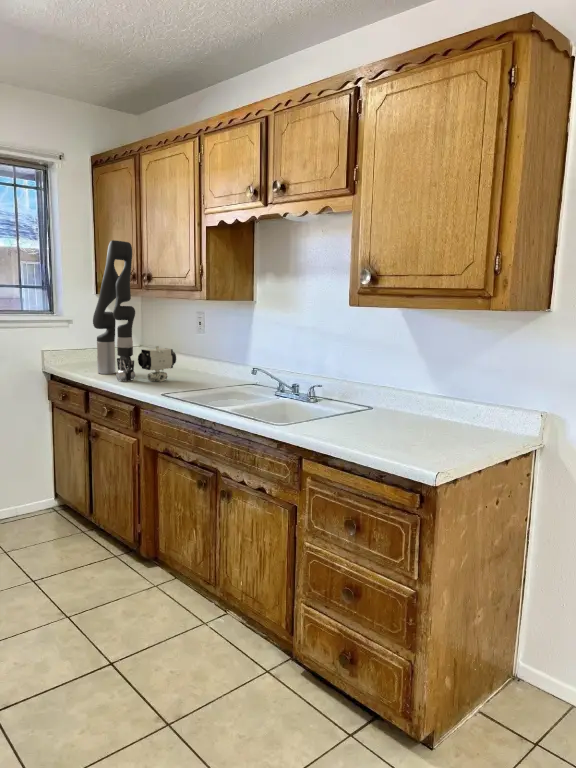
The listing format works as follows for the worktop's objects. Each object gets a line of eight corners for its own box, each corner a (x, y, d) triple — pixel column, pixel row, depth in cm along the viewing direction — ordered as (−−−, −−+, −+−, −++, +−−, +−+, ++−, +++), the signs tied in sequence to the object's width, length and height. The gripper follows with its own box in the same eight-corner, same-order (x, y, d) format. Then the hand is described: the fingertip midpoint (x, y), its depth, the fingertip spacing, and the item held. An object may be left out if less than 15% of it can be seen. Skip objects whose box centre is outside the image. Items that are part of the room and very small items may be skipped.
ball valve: (146, 384, 280) (145, 347, 277) (137, 381, 286) (137, 346, 283) (178, 380, 292) (177, 346, 289) (169, 378, 298) (169, 344, 295)
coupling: (115, 380, 288) (115, 370, 287) (130, 379, 293) (130, 368, 292) (121, 382, 284) (120, 371, 283) (135, 380, 289) (135, 370, 288)
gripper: (111, 345, 288) (112, 378, 291) (125, 347, 278) (125, 382, 281) (125, 344, 293) (125, 377, 296) (139, 347, 283) (139, 380, 286)
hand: (125, 379), depth 288 cm, fingers closed on coupling, 5 cm apart
